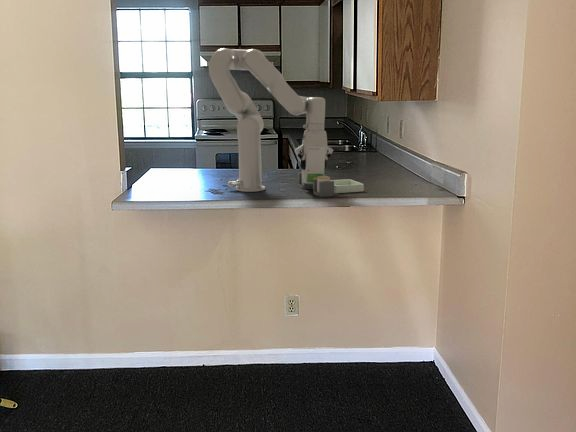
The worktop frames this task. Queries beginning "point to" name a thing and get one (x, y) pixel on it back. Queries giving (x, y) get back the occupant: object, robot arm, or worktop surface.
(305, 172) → the skincare box
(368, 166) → the worktop surface
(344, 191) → the tray
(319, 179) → the cartridges
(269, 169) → the worktop surface
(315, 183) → the rail
